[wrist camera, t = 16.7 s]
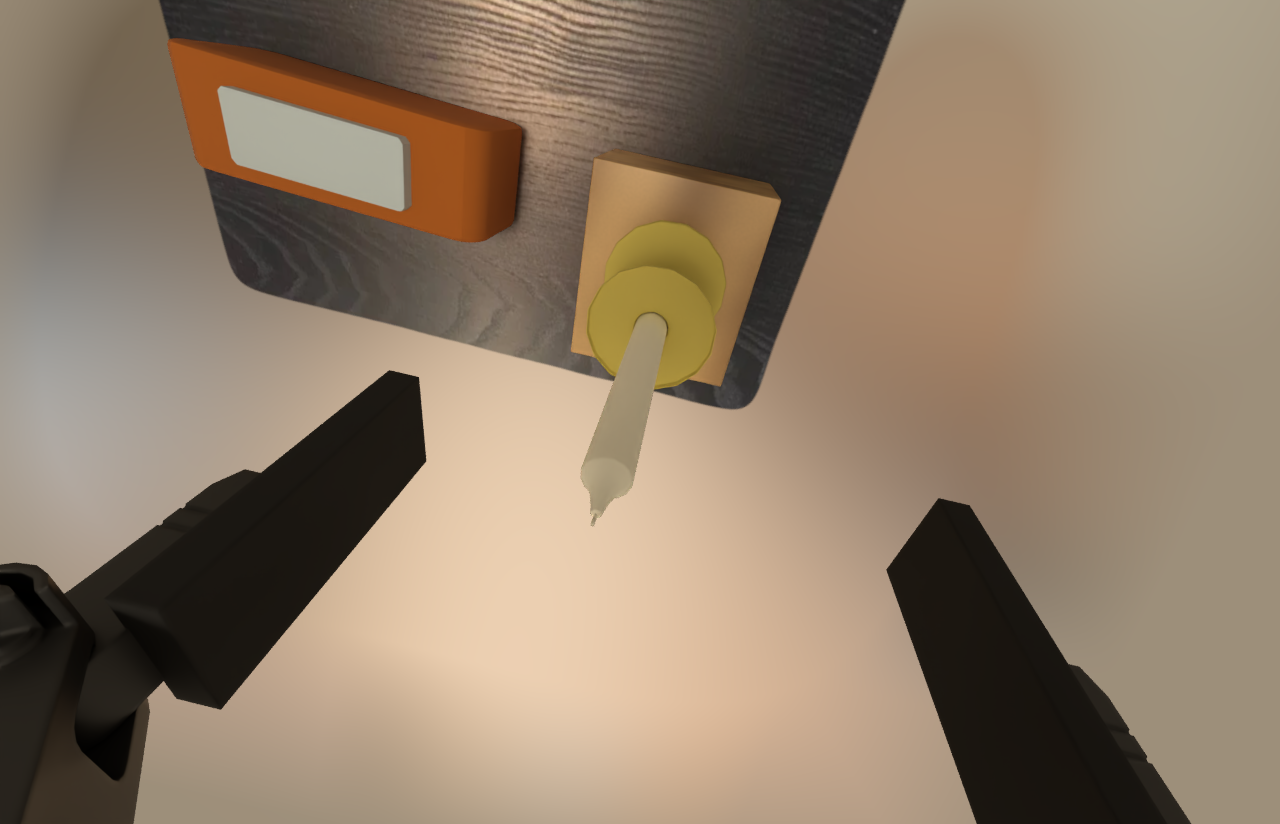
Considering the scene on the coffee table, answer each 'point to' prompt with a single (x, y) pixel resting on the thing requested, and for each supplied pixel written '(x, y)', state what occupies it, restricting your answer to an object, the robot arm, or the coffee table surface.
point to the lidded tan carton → (679, 194)
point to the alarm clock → (348, 140)
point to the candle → (647, 340)
